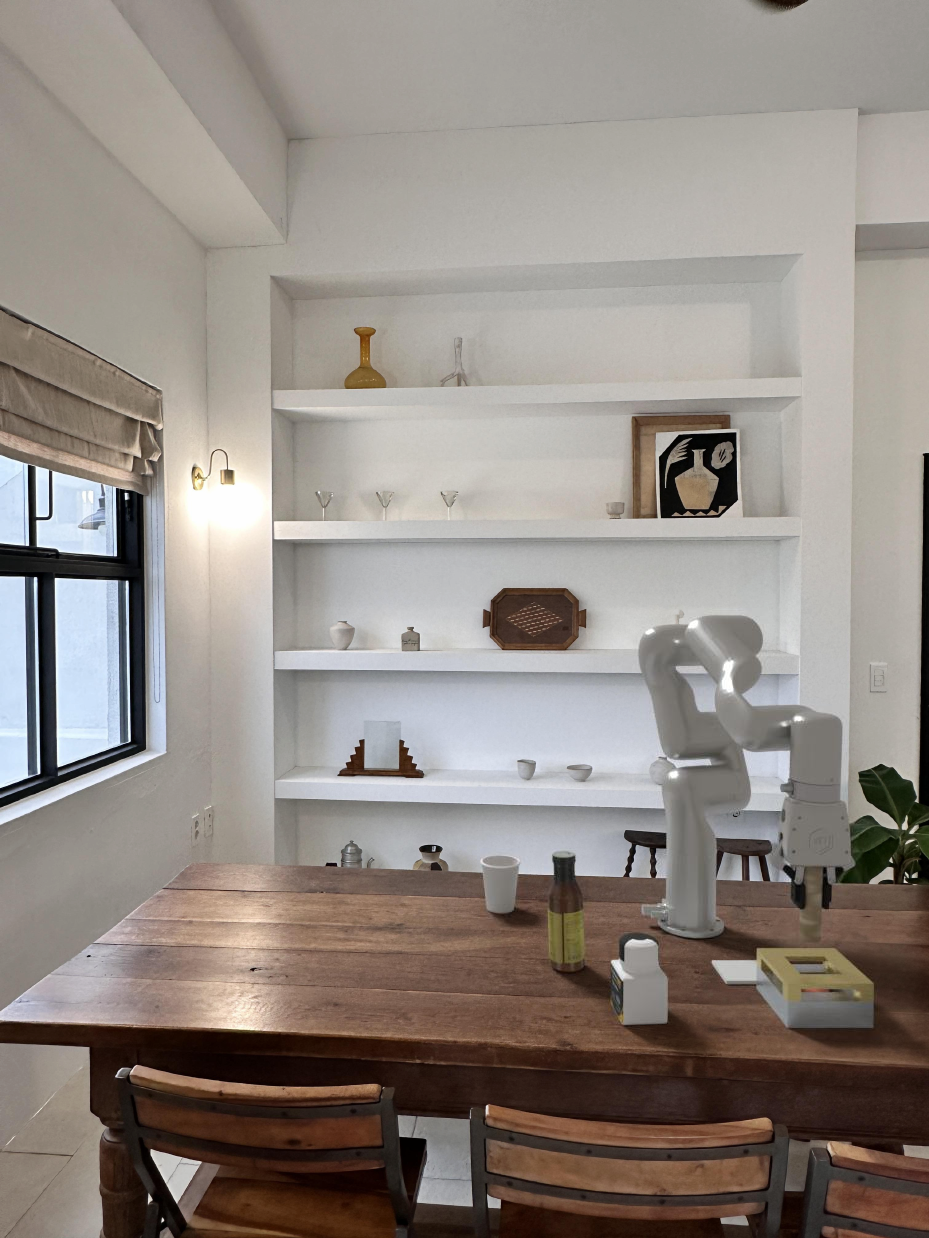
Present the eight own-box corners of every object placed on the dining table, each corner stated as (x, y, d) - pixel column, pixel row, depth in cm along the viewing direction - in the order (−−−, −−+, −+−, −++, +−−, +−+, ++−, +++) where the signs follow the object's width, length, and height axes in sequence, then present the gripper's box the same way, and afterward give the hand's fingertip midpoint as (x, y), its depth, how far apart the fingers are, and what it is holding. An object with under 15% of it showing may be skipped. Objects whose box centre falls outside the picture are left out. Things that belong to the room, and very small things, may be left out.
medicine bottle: (609, 1003, 134) (610, 928, 134) (653, 1001, 135) (654, 927, 135) (621, 1025, 127) (622, 947, 127) (668, 1024, 128) (668, 945, 127)
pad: (726, 984, 141) (726, 980, 141) (711, 963, 149) (711, 960, 149) (773, 983, 141) (773, 980, 141) (756, 963, 149) (756, 960, 149)
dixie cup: (527, 906, 177) (527, 858, 177) (507, 918, 170) (508, 869, 170) (493, 898, 181) (493, 852, 181) (472, 910, 174) (472, 862, 174)
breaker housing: (787, 1027, 127) (787, 983, 127) (756, 988, 140) (756, 948, 140) (873, 1027, 127) (873, 983, 127) (834, 988, 140) (834, 948, 140)
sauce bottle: (587, 961, 150) (588, 850, 149) (580, 976, 144) (581, 860, 143) (551, 956, 152) (552, 846, 151) (543, 970, 146) (544, 856, 146)
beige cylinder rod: (804, 942, 132) (806, 847, 131) (795, 933, 135) (798, 841, 135) (824, 942, 132) (827, 847, 131) (815, 933, 135) (818, 841, 135)
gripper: (771, 797, 129) (767, 915, 130) (878, 798, 129) (873, 916, 130) (753, 785, 136) (750, 896, 137) (854, 786, 137) (851, 897, 137)
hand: (810, 905), depth 134 cm, fingers closed on beige cylinder rod, 3 cm apart
